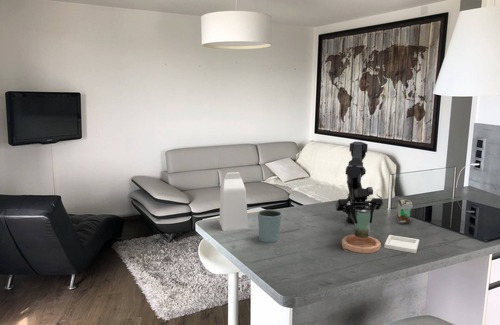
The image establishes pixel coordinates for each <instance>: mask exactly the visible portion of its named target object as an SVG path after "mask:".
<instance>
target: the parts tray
mask: <svg viewBox="0 0 500 325" xmlns="http://www.w3.org/2000/svg"><path fill="white" fill-rule="evenodd" d="M419 244H420V239H418V238H411V237H406V236H405V237H404V236H401V235H400V236H399V235H392V234H389V235H388V237H387V238H386V240H385V242H384V249H389V250H395V251H400V252H406V253H412V254H417V252H418V248H419Z"/></svg>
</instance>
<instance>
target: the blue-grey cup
mask: <svg viewBox="0 0 500 325" xmlns="http://www.w3.org/2000/svg"><path fill="white" fill-rule="evenodd" d="M257 219H258V221H257V222H258V234H259V235H258V239H259V241H260V242H262V243H265V244H266V243H267V244H271V243H276V242H278V241H279V238H280V228H281V220H282V212H281V211H278V210H276V209H275V210H274V209H262V210H259V211H258V212H257Z"/></svg>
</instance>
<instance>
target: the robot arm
mask: <svg viewBox="0 0 500 325" xmlns="http://www.w3.org/2000/svg"><path fill="white" fill-rule="evenodd" d="M368 149H369V148H368V143H366V142H363V141H353V142H351V143H349V149H348V151H349V152H350V156H351V160H349V161H348V164H347V166H346V167H345V175H346V184H347V189H348V192H349V193H348V194H347V197H346V198H339V199H338V200H337V202H336V204H335V210H336V211H337V212H341V211H342V212H343V213H344V214H346V215H347V220H346V223H352V224H354V225H355V224H356V223H357V222H356V217H355V208H357V207H366V208H369V209H371V213H370V224H372V223H373V216H374V215H373V214H374V211H378V210H380V209H381V207H382V206H383V205H384V201H383V199H382V198H381V197H379V198H378V197H376V198H375V197H374V198H373V197H372V199H371V200H370V201H366V200H368V197H370V196H373V195H374V189H373V187H372V186H368V187H366V188H364V187H362V178H363V176H364V175H366V172H367V171H366V168H365V166H364V162H363V161H364V160H365V157H366V154H367V153H368Z"/></svg>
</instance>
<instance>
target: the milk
mask: <svg viewBox="0 0 500 325" xmlns="http://www.w3.org/2000/svg"><path fill="white" fill-rule="evenodd" d="M219 188H220V190H219V192H220V195H219V224H220V227H221V229H222V231H223V232H224V231H225V232H226V231H237V230H239V231H241V230H249V222H248V220H249V219H248V204H247V203H248V202H247V200H248V199H247V190H246V186H245V184H244V180H243V178H242V176H241V173H240V172H237V171H236V172H226V174H225V176H224V178H223V179H222V182H221V184H220V187H219Z"/></svg>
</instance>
